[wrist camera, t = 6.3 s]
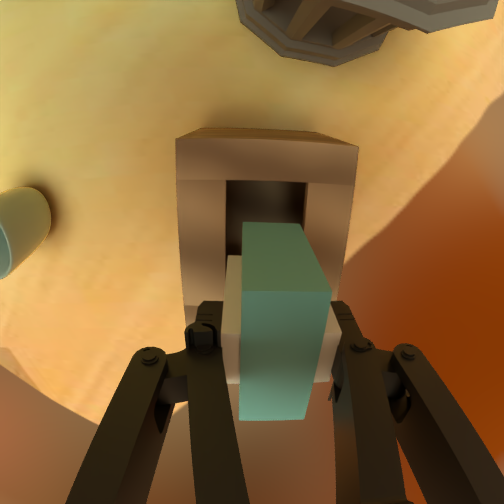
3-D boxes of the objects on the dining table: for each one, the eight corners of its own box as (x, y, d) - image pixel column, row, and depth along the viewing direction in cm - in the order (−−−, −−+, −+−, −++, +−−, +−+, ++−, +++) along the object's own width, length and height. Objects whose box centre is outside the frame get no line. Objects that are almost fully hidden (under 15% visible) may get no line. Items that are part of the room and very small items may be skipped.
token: (242, 221, 17) (242, 290, 10) (299, 223, 17) (332, 291, 10) (239, 330, 20) (238, 420, 13) (287, 330, 20) (303, 419, 13)
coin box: (201, 128, 29) (175, 139, 18) (318, 132, 29) (361, 147, 18) (202, 261, 34) (186, 332, 24) (306, 263, 35) (332, 332, 24)
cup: (50, 171, 29) (-5, 198, 20) (68, 236, 33) (22, 278, 24) (6, 187, 30) (-48, 215, 21) (23, 245, 33) (-23, 284, 24)
